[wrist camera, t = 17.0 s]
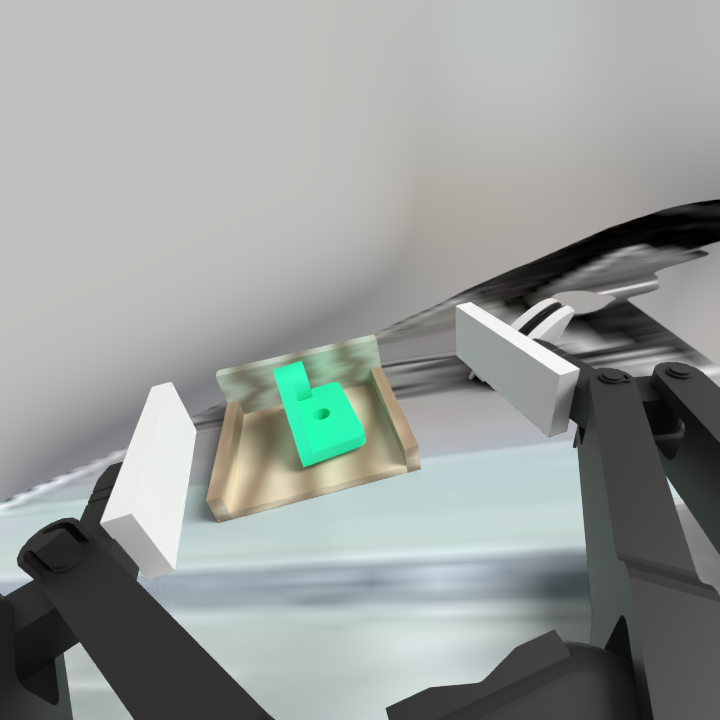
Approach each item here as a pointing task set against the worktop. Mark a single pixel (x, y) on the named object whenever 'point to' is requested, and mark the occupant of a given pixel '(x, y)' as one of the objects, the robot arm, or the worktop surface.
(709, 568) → the teacup
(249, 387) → the dock
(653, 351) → the worktop surface
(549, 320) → the grey rounded piece
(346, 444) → the camera mount
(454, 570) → the worktop surface
